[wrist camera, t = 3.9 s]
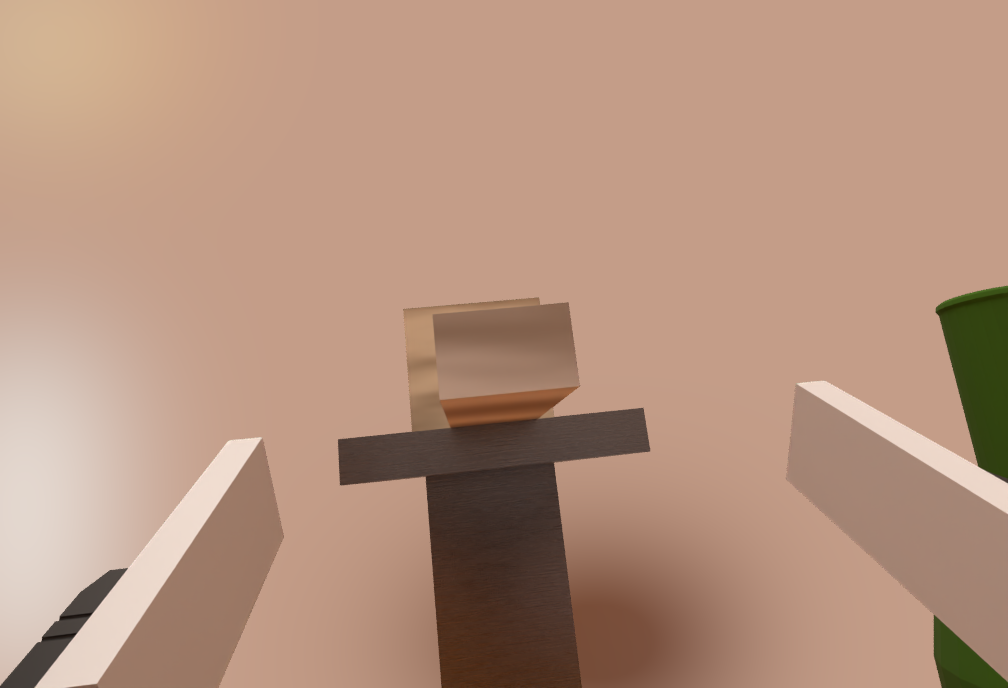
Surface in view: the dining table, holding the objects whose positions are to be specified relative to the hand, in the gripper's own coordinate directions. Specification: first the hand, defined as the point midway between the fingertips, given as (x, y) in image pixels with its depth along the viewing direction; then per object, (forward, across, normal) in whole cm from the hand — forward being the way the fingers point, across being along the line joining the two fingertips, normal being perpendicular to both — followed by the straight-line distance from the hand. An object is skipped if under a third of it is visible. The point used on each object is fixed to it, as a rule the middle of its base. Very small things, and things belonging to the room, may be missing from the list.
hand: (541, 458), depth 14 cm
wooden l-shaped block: (+16, -1, -7) cm, 18 cm away
